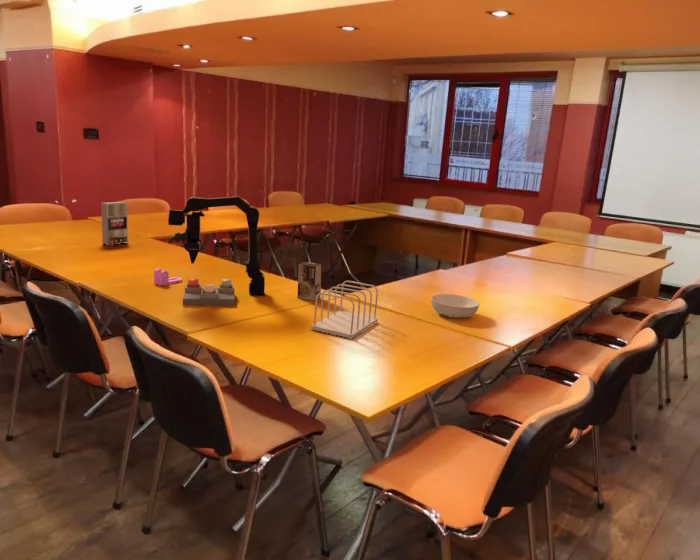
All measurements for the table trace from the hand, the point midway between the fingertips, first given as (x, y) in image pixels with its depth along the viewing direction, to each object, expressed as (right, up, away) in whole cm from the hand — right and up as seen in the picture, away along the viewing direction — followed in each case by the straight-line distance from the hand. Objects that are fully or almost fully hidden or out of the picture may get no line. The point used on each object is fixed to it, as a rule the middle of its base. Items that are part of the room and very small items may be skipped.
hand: (193, 261), depth 248 cm
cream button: (+10, -13, -10) cm, 19 cm away
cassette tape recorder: (-73, +13, +93) cm, 118 cm away
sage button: (+15, -11, 0) cm, 18 cm away
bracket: (-16, -10, +18) cm, 26 cm away
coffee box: (+50, -17, +9) cm, 54 cm away
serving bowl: (+115, -24, 0) cm, 117 cm away
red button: (+1, -11, -3) cm, 11 cm away
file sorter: (+67, -27, -25) cm, 77 cm away
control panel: (+8, -17, -5) cm, 19 cm away
